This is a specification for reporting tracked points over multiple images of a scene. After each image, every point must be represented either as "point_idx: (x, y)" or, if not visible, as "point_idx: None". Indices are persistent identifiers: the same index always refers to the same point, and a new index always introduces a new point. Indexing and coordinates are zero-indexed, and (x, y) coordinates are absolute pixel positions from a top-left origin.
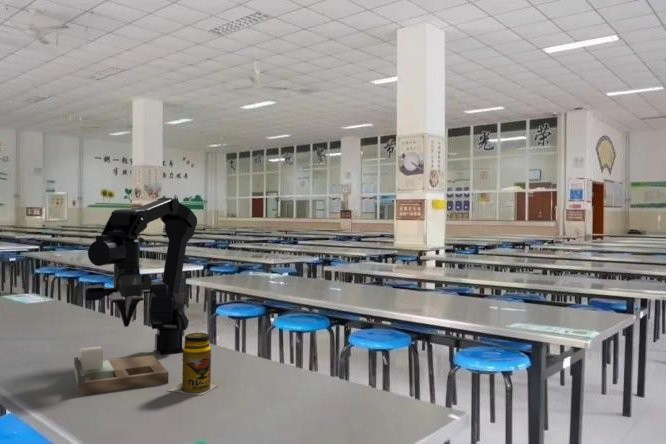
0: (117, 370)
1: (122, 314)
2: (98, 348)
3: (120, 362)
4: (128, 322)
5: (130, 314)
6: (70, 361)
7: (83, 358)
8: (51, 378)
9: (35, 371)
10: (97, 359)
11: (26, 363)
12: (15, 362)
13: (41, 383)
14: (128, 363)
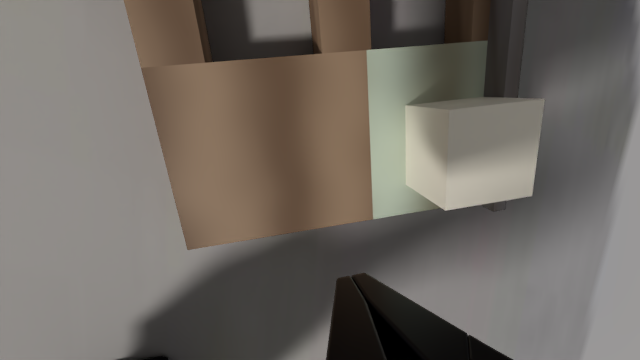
0: (354, 38)
1: (451, 333)
2: (460, 168)
3: (331, 169)
4: (344, 295)
5: (352, 352)
6: None
7: (513, 98)
8: None
9: (543, 252)
10: (448, 104)
11: (547, 330)
12: (566, 343)
13: (553, 123)
14: (300, 142)
